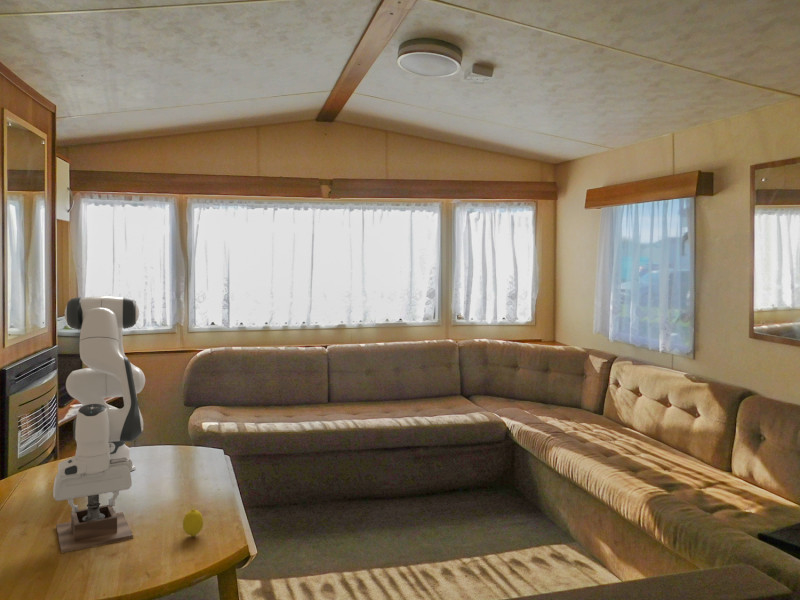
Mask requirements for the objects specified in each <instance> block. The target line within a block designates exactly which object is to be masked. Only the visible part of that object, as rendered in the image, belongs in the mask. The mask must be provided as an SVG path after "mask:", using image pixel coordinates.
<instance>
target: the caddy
mask: <svg viewBox="0 0 800 600" xmlns="http://www.w3.org/2000/svg"><path fill="white" fill-rule="evenodd" d="M99 511H100V513H101V514H104V515H105V518H103V519H98V520H92V521H87V522H84V521H83V520H82V519H83V517H85V516H87V514H88V507H87V508H83V509H78V513H72V510H71V511H70V521H67V522H61V523H56V526H55V528H56V532H57V533H58V534H57V537H58V538H57V539H58V544H59V548H60V549H61V550H60V549H59V550H60V554H63V553H62V552H65V553H69V551H70V552H73V550H75V551H79V550H78V549H80V550H83V549H84V550H85V549H89V548H93V547H98V546H103V545H107V544H113V543H117V542H123V541H127V540H132V539H134V534H133V532H132V530H131V528H130V525H129V523H128V521H127V518H126V517H125V513H124V511H121V512H115V509H114V506H112V507H109V504H105V505H99Z"/></svg>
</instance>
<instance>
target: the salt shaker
mask: <svg viewBox="0 0 800 600" xmlns="http://www.w3.org/2000/svg"><path fill="white" fill-rule="evenodd" d="M99 506H101V502H100V494H97V495H91V496H87V504H86V507H87V508H88V514H87V516H85V517H83V519H82V520H83V521H84V522H87V521H92V520H98V519H103V518H105V515H104V514H101V513H100V511H99Z"/></svg>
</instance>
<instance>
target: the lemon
mask: <svg viewBox="0 0 800 600" xmlns="http://www.w3.org/2000/svg"><path fill="white" fill-rule="evenodd" d="M182 521H183V522H182V527H183V531H184V532H185V534H186V535H189V536H191V537H196V535H198V534H199V533H201V531H202V529H203V526H204V517H203V515H202V512H201V511H199V510H197V509H195V508H193V509H191V510H189V511H188V512H186V514H185V515H184V517H183V520H182Z"/></svg>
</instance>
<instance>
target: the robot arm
mask: <svg viewBox="0 0 800 600" xmlns="http://www.w3.org/2000/svg"><path fill="white" fill-rule="evenodd" d="M139 316H140V310H139V306H138V303H137V300H135V299H134V298H132V297H127V296H124V297H121V296H109V295H102V296H89V297H88V296H87V297H81V296H79V297H78V296H77V297H73V298H70V299H69V300H68V301H67V304H66V305H65V309H64V319H65V321H66V324H67V325H68V326H69V327H70V328H71V329H74V330H80V334H79V347H78V348H79V356H80V357H79V358H80V360H81V362H82V363H83V364H84V365H85V366H86V367H85V368H80V369H76V370H72V371H71V372H70V373H69V374H68V376H67V378H66V381H65V389H66V392H67V394H68V395H69V396H70V397H71V398H73V399H75V400H77V401H78V402H79V403H80V404H81V405H82V406H81V407H80V408H78V410H77V412H76V413H77V414H76V417H75V419H74V420H73V422H72V432H73V433H72V435H73V440H75V443H76V450H75V455H74V456H72V457H70V458H67V459H65V460H63V461H60V462H59V463H58V465H57V471H58V472H57V473H56V474H55V476H54V482H53V489H52V490H53V491H52V495H53V499H54V500H55V501H56V502H61V501H66V500H67V503H68V505H69V506H70V507H71V511H72V513H78V510H79V504H75V503H74V501H75V499H79V498H84V497H88V496H91V495H97V494H99V495H103V494H108V493H112V497H111V498H109V499H108V504H107V505H109V507H112V506H113V507H115V506H116V503H115V502H116V500H117V498H118V496H119V493H120V492H121V491H125V490H129V489H131V487H132V485H133V483H132V482H133V481H132V475H131V472H132V471H134V470H136V466H135V465H134V464H133V462H132V459H131V452H130V451H131V450H130V447H129V446H127V445H126V443H127V442H131V443H133V442H134V441H135V440H137V439H138V438H139V437H140V436H141V435H142V434H143V430H144V418H143V416H142V413H141V410H140V408H139V407H140V406H139V402H138V401H139V400H138V395H137V394H140V393H141V392H142V391H143V389H144V387H145V384H146V376H145V374H144V371H142V369H141V368H139V367H138V366H136V365H134V364H133V363H132V362H131V361H130V360H129V358H128V357H127V355H126V354H125V350H124V341H123V338H124V337H123V336H124V335H123V329H124V330H125V329H129V328H133V327H134V326H135V325H137V321H138V320H139ZM107 398H122V399H123V407H122V408H118V407H115V406H113V405H111V404H108V403H107V402H106V401H105V400H106V399H107Z"/></svg>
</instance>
